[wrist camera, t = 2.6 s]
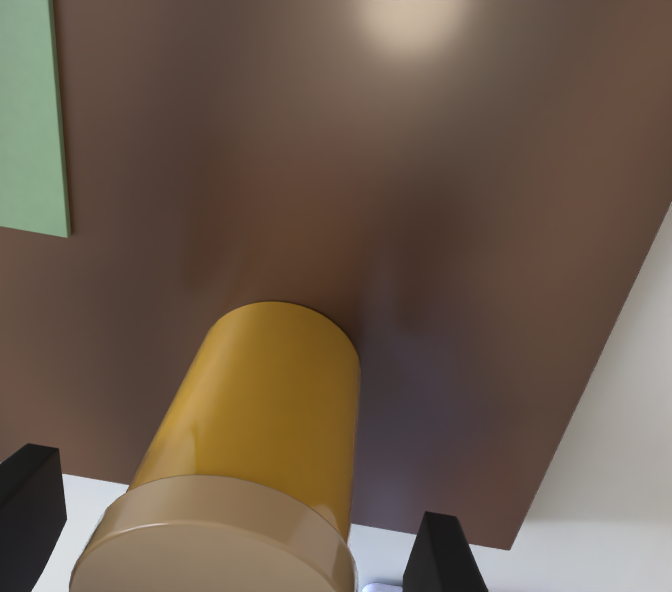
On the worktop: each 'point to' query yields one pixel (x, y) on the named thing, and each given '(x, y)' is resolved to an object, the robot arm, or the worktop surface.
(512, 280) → the walnut board
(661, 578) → the worktop surface
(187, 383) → the spice jar
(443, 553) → the robot arm
